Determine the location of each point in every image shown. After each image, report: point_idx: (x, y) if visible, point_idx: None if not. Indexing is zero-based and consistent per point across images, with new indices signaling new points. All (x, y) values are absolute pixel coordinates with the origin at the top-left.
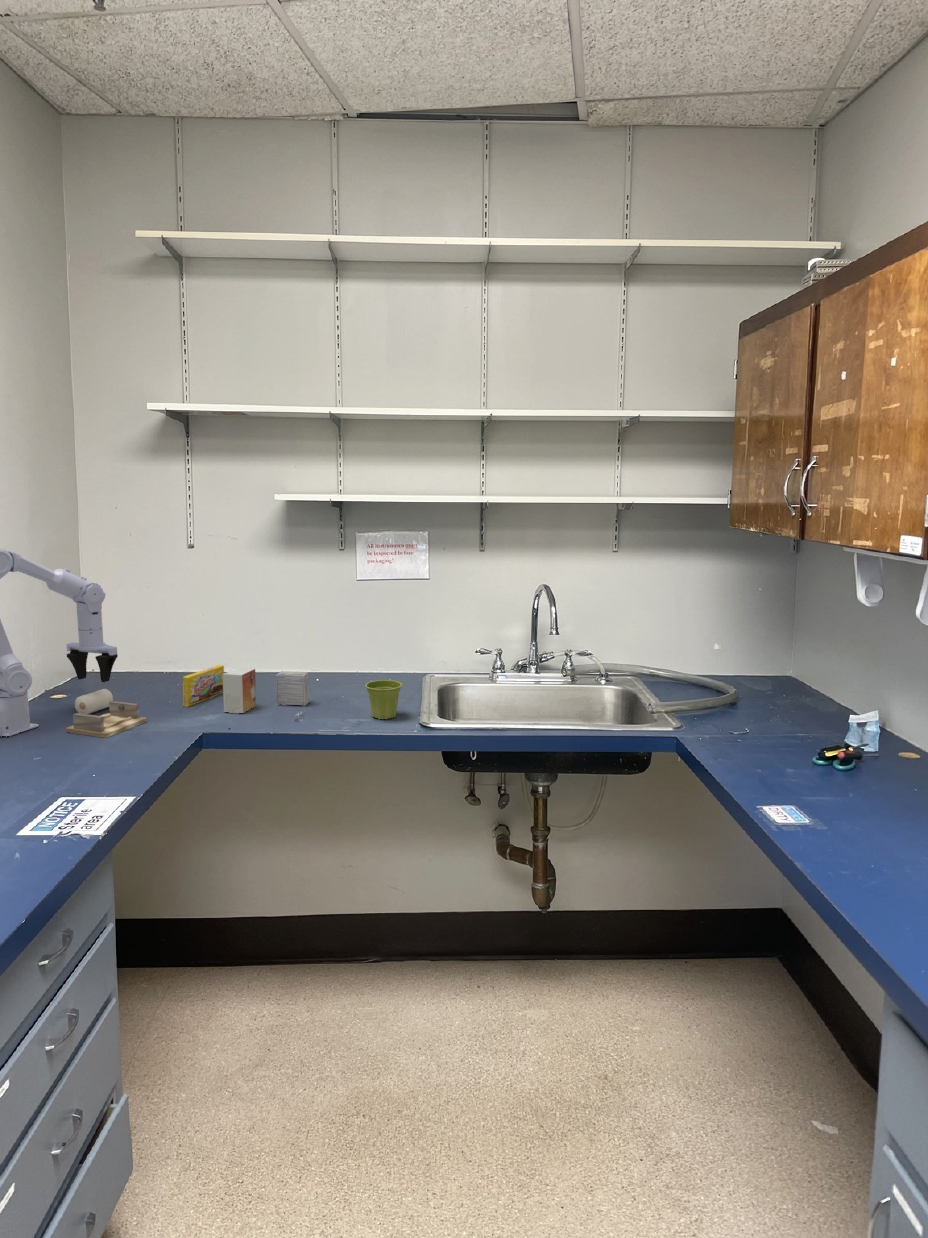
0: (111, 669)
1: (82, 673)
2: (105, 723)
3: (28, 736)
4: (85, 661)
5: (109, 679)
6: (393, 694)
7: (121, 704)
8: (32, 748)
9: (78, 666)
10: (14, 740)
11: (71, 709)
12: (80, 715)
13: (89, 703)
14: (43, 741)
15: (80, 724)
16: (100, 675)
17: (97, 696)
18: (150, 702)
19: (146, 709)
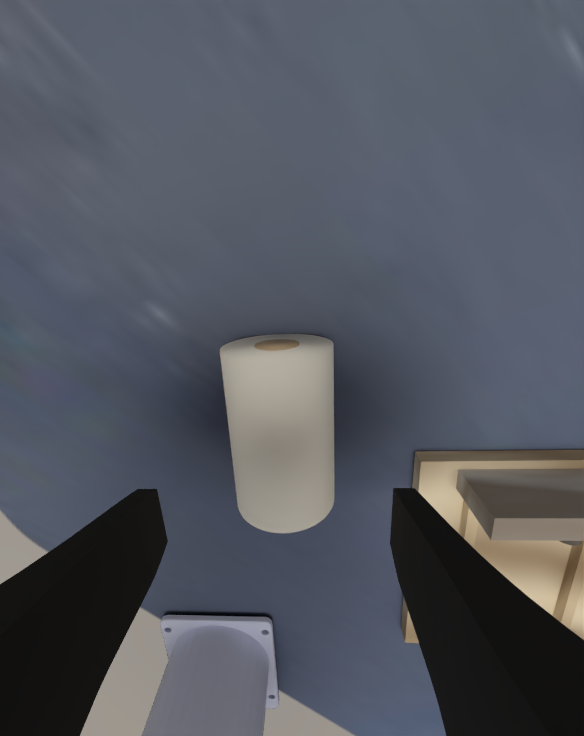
0: (496, 573)
1: (138, 556)
2: (514, 570)
3: (322, 676)
4: (25, 640)
5: (421, 495)
6: None
7: (577, 536)
8: (421, 730)
9: (89, 675)
10: (316, 704)
11: (174, 426)
12: None
13: (331, 506)
14: (403, 692)
15: None
16: (411, 615)
17: (319, 456)
18: (451, 144)
19: (517, 283)
